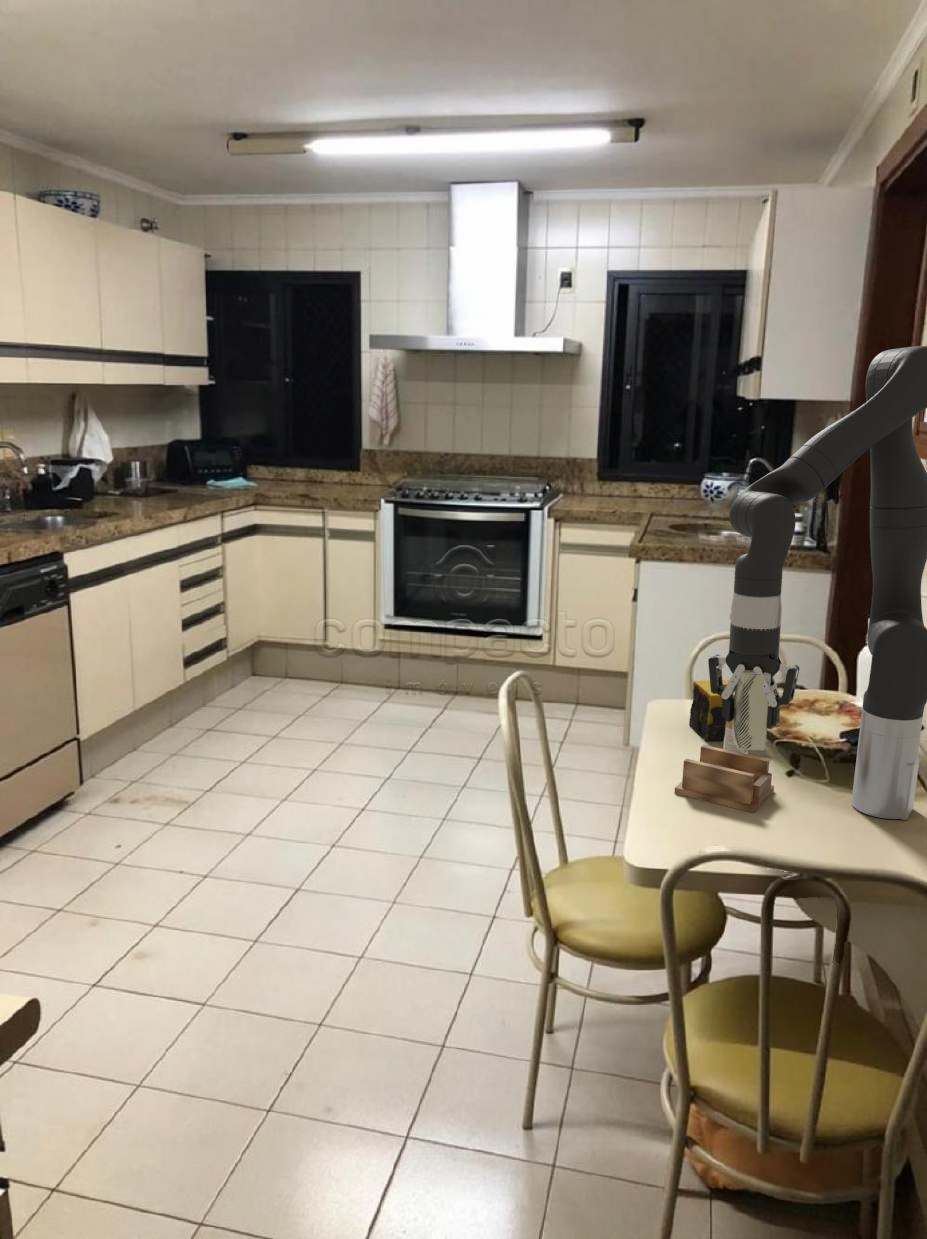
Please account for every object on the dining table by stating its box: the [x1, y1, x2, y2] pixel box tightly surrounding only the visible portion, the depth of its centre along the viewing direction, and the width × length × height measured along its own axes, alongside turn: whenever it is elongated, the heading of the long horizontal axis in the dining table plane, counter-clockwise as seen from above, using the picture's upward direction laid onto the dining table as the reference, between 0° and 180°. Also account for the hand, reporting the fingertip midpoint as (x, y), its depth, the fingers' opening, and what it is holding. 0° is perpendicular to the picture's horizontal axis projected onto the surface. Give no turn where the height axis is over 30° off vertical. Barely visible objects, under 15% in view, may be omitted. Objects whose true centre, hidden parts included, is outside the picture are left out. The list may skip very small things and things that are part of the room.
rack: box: [673, 744, 775, 814], centre depth 168 cm, size 14×11×6 cm
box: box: [732, 670, 771, 751], centre depth 152 cm, size 5×4×13 cm
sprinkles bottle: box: [722, 720, 749, 755], centre depth 177 cm, size 5×5×14 cm
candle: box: [688, 679, 735, 743], centre depth 197 cm, size 10×10×10 cm
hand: (749, 723), depth 153 cm, fingers closed on box, 6 cm apart
